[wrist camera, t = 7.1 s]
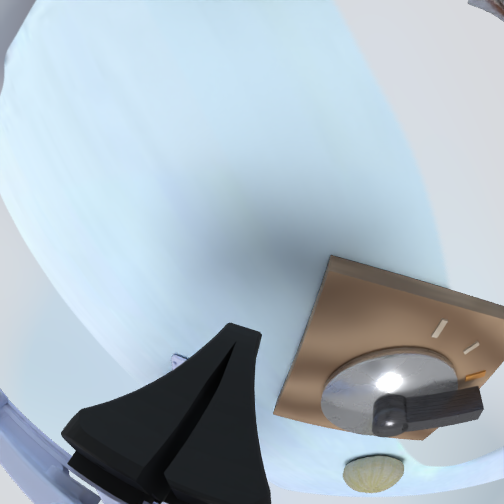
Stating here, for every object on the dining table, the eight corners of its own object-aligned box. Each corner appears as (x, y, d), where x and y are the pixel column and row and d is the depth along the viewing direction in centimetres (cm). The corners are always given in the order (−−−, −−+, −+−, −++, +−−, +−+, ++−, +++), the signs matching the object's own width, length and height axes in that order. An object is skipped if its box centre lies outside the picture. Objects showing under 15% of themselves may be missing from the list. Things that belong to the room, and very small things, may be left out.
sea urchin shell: (384, 457, 26) (398, 501, 22) (401, 435, 32) (414, 474, 28) (327, 469, 31) (341, 509, 27) (351, 450, 37) (364, 486, 33)
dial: (327, 429, 25) (322, 457, 22) (314, 353, 20) (306, 390, 17) (458, 416, 20) (461, 445, 17) (491, 332, 15) (504, 366, 12)
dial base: (422, 426, 24) (422, 441, 23) (277, 399, 28) (272, 415, 26) (520, 311, 15) (529, 328, 13) (330, 254, 19) (328, 272, 17)
